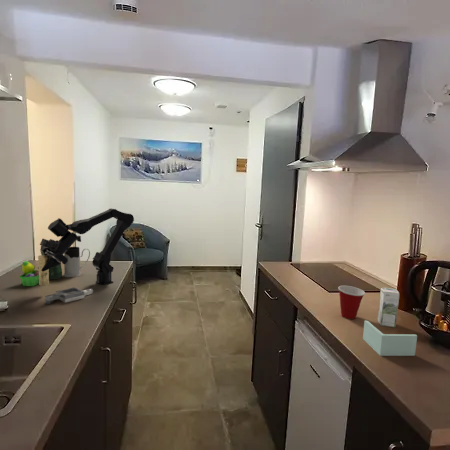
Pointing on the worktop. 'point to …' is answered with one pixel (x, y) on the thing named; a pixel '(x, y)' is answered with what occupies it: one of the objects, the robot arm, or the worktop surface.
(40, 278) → the brass pin
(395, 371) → the worktop surface
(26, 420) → the worktop surface
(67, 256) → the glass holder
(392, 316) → the syrup box
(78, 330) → the worktop surface
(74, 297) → the ball-tipped frame bar
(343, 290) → the plastic cup
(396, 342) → the l-shaped corner panel
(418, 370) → the worktop surface
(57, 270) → the coffee jar
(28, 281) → the fruit basket
